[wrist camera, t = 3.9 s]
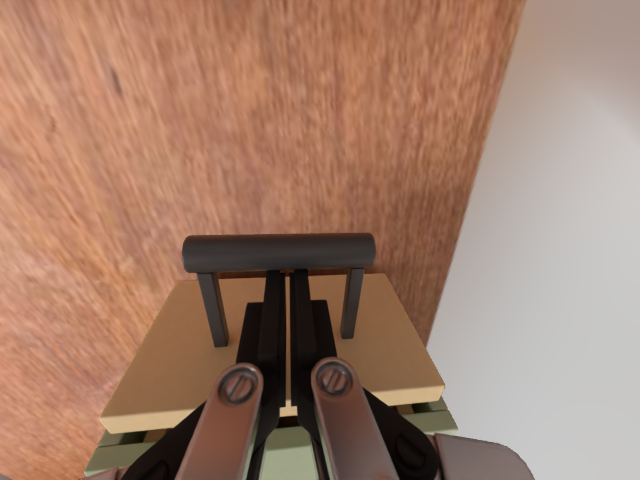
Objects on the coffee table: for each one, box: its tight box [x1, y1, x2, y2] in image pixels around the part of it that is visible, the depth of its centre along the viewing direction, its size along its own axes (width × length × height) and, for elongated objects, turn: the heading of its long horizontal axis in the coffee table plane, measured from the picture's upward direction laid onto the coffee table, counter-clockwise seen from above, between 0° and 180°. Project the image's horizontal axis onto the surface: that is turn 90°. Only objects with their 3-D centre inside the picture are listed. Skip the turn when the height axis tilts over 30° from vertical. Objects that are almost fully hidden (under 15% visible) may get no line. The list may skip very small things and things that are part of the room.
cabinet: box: [84, 396, 458, 480], centre depth 18 cm, size 17×15×10 cm
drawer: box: [99, 233, 445, 443], centre depth 16 cm, size 21×13×8 cm, turn 177°
